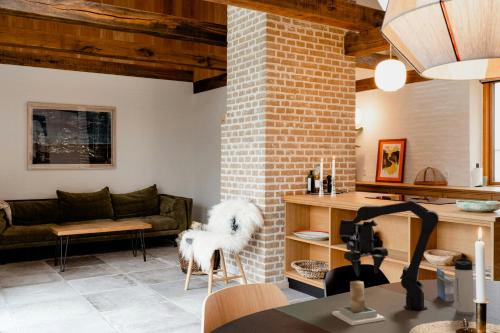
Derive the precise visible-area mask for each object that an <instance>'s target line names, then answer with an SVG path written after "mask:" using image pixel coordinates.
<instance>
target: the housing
mask: <svg viewBox="0 0 500 333" xmlns="http://www.w3.org/2000/svg"><path fill="white" fill-rule="evenodd" d="M338 308H339V310H337V311H332V314H331V315H333V316H334V317H336V318H338V319H340V320H341V321H344V322H345V323H346V324H349V325H350V326H357V325H363V324H368V323H374V322H382V321H386V317H385V316H383V315H381V314H379V313H378V311H377V310H375V309H374V308H372V307H369V306H367V305H365V312H361V313H352V312H351V305H346V306H339V307H338Z"/></svg>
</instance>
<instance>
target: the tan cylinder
mask: <svg viewBox="0 0 500 333" xmlns="http://www.w3.org/2000/svg"><path fill="white" fill-rule="evenodd" d="M349 287H350V288H349V290H350V291H349V292H350V306H351V312H352V313H361V312H365V306H366V305H365V284H364V281H361V280H352V281H349Z"/></svg>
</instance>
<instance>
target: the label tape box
mask: <svg viewBox="0 0 500 333" xmlns="http://www.w3.org/2000/svg"><path fill="white" fill-rule="evenodd" d="M436 284H437V285H436V286H437V287H436V288H437V297H439V298H440V299H441V300H443V301H444V302H447V303H448V302H452V303H453V302H455V292H454V291H455V290H454V281H453V280H451V279H450V278H448V277H446V276H445V271H443V270H442V269H440V268H438V267H436Z"/></svg>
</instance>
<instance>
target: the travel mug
mask: <svg viewBox="0 0 500 333" xmlns="http://www.w3.org/2000/svg"><path fill="white" fill-rule="evenodd" d="M473 270H474V269H473V261H472V260H470V259H466V258H465V257H464V258H463V257H462V258H461V257H460V258H459V259H455V260H454V285H455V286H454V287H455V290H454V291H455V292H454V295H455V312H456V314H458V315H461V316H473V315H474V314H475V302H473V299H474V298H475V294H474V272H473ZM474 300H475V299H474Z"/></svg>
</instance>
